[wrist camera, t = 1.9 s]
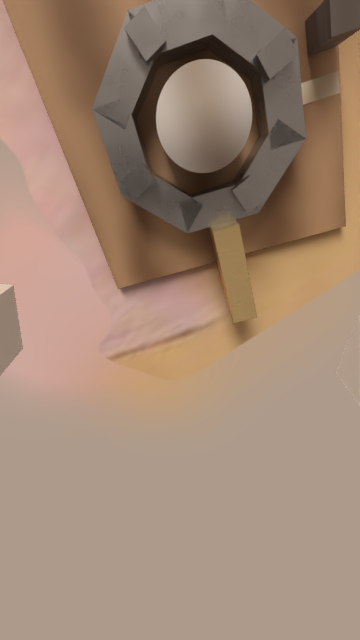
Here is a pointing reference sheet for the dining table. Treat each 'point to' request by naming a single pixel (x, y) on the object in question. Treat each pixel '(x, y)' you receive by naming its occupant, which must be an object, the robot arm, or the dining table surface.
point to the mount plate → (123, 222)
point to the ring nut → (270, 105)
